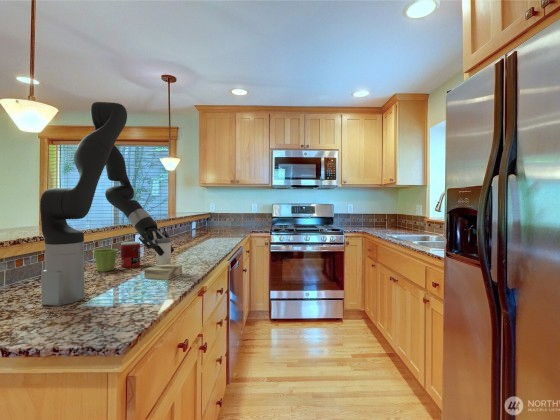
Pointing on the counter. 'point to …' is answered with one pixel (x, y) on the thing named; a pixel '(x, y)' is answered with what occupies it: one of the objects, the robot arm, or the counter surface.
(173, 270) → the maple base
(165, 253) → the spice jar
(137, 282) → the counter surface
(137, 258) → the canned food
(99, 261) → the plant pot
